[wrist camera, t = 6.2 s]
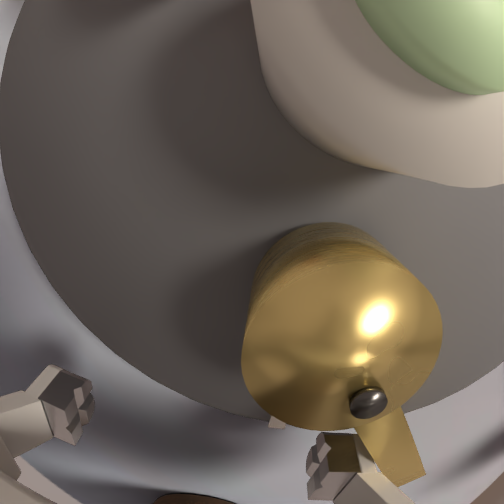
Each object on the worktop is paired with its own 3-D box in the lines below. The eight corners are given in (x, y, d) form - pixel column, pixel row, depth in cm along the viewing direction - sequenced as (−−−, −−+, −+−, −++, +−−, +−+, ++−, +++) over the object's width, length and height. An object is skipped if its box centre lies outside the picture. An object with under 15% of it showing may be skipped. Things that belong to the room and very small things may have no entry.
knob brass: (223, 268, 8) (196, 334, 5) (361, 194, 8) (414, 222, 4) (343, 446, 10) (354, 512, 7) (437, 402, 10) (467, 462, 6)
